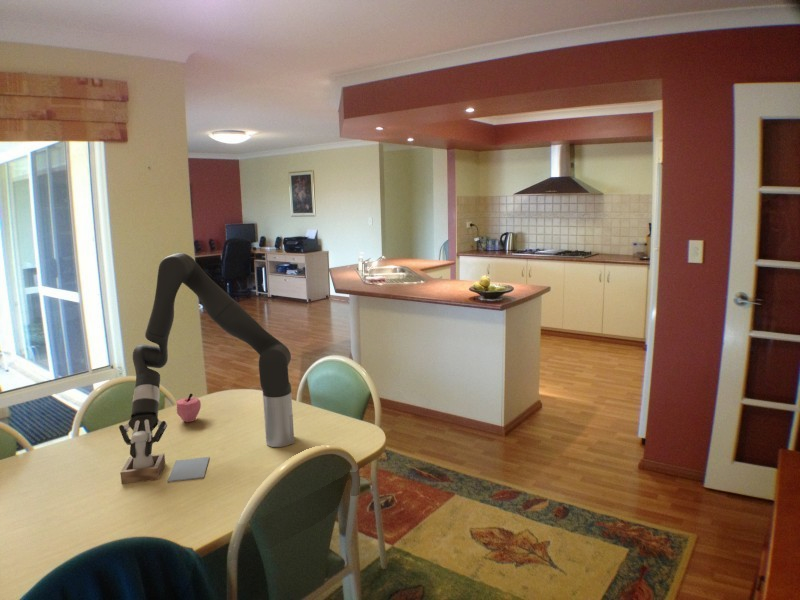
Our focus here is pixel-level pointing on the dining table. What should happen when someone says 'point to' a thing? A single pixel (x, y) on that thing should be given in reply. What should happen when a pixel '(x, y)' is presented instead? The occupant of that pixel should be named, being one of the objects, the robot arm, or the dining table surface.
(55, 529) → the dining table surface
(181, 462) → the rubber mat
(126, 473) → the pocket block
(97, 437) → the dining table surface
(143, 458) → the salt shaker
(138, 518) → the dining table surface
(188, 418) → the apple
